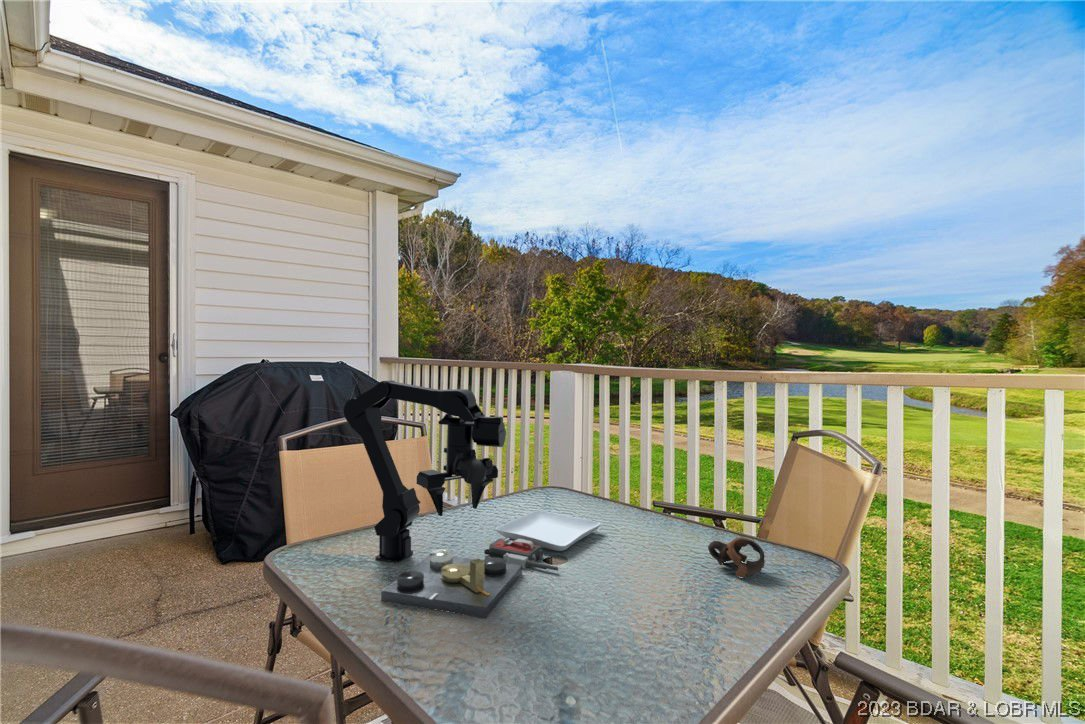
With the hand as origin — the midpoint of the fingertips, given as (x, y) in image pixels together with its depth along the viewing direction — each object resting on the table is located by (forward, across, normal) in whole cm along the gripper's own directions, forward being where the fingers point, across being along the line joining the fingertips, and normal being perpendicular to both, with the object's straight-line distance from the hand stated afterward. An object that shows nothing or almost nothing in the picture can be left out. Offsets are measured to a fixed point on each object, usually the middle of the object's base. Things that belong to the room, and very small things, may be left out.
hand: (457, 511), depth 119 cm
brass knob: (+9, -7, -14) cm, 18 cm away
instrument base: (+12, -7, -11) cm, 17 cm away
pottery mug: (+11, +46, -43) cm, 64 cm away
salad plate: (+12, +28, 0) cm, 31 cm away
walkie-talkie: (+12, +13, -9) cm, 20 cm away
